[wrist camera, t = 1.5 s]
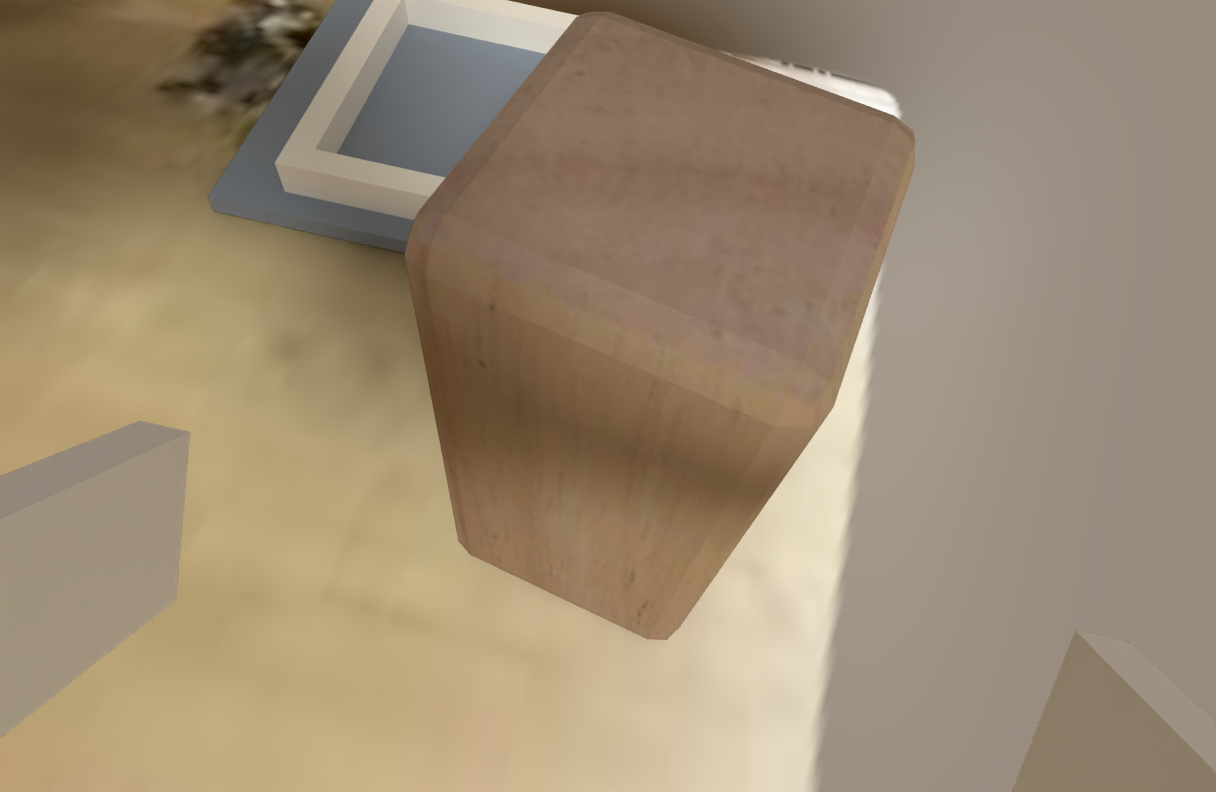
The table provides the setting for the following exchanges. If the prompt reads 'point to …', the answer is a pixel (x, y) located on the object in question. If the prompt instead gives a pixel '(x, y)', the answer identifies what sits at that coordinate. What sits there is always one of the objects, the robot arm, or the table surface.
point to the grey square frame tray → (382, 113)
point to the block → (644, 308)
